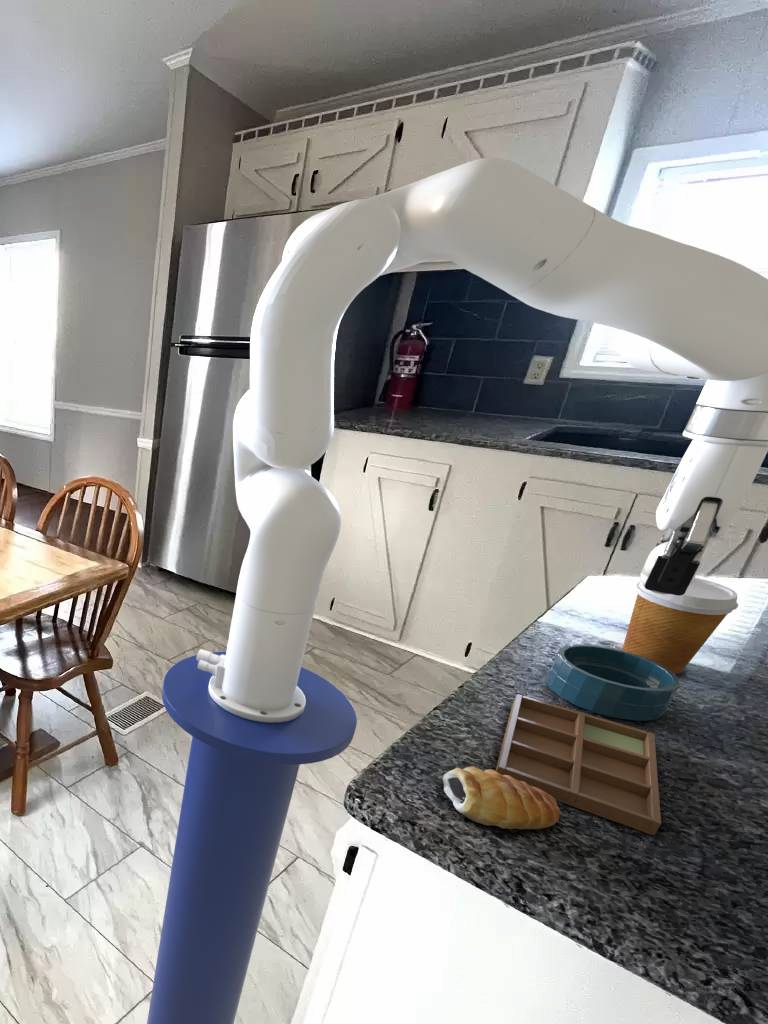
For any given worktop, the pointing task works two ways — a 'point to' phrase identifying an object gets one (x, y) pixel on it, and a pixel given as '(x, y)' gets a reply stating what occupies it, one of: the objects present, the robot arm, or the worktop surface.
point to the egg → (651, 561)
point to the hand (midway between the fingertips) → (662, 583)
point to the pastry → (499, 799)
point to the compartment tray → (583, 762)
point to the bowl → (612, 682)
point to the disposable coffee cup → (677, 622)
